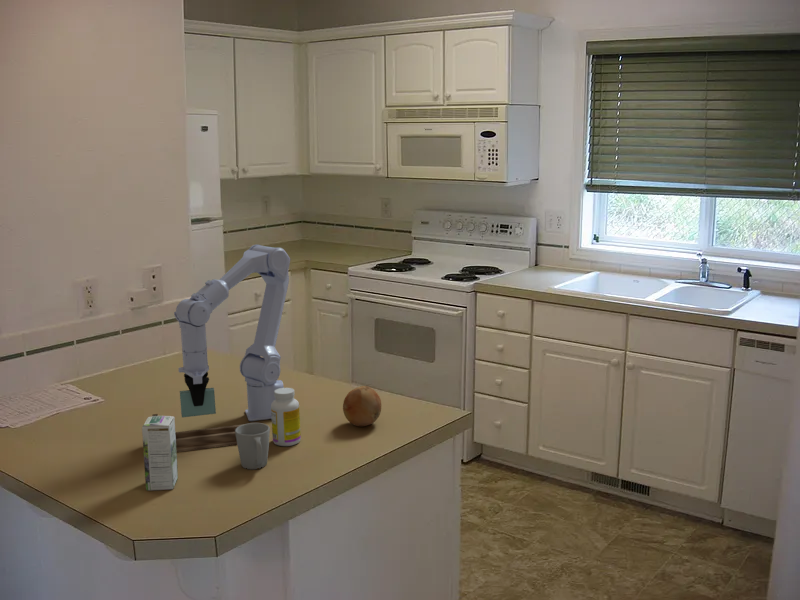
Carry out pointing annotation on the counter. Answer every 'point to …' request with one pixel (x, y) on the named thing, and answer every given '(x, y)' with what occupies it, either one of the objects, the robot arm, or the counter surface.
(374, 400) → the grapefruit
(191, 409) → the teal rectangular block
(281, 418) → the supplement bottle
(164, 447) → the syrup box
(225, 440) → the track
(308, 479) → the counter surface
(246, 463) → the cup
